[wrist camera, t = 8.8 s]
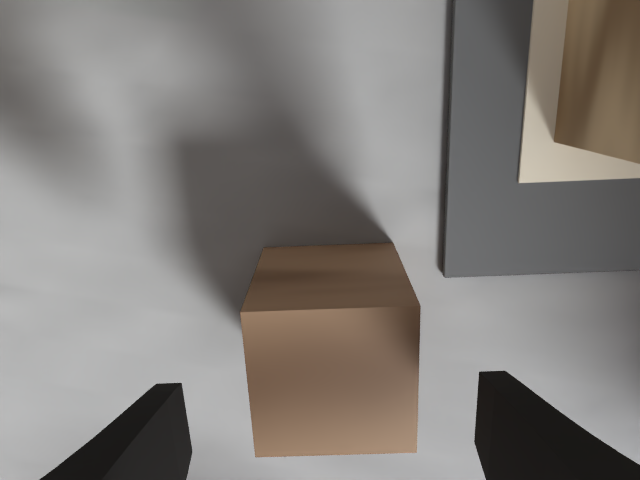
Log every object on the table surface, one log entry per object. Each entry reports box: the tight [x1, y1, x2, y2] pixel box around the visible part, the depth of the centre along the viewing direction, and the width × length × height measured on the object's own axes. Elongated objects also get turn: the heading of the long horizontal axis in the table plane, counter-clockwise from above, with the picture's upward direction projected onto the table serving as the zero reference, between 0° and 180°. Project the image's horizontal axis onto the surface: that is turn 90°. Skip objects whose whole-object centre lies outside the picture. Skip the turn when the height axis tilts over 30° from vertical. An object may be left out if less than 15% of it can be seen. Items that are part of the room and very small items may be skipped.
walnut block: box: [240, 243, 420, 457], centre depth 15 cm, size 4×4×5 cm
